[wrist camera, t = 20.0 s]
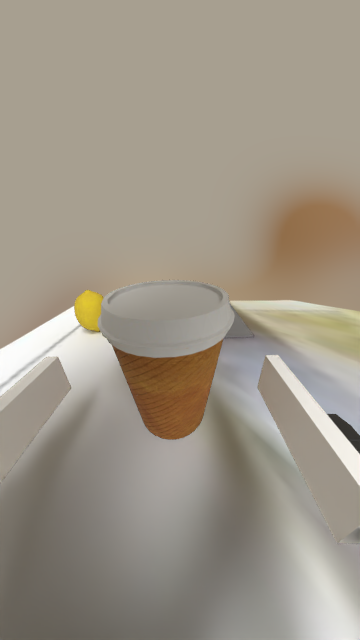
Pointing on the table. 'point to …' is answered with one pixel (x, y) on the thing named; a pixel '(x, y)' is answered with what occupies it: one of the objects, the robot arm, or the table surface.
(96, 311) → the lemon
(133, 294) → the disposable coffee cup
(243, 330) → the mat
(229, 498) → the table surface
